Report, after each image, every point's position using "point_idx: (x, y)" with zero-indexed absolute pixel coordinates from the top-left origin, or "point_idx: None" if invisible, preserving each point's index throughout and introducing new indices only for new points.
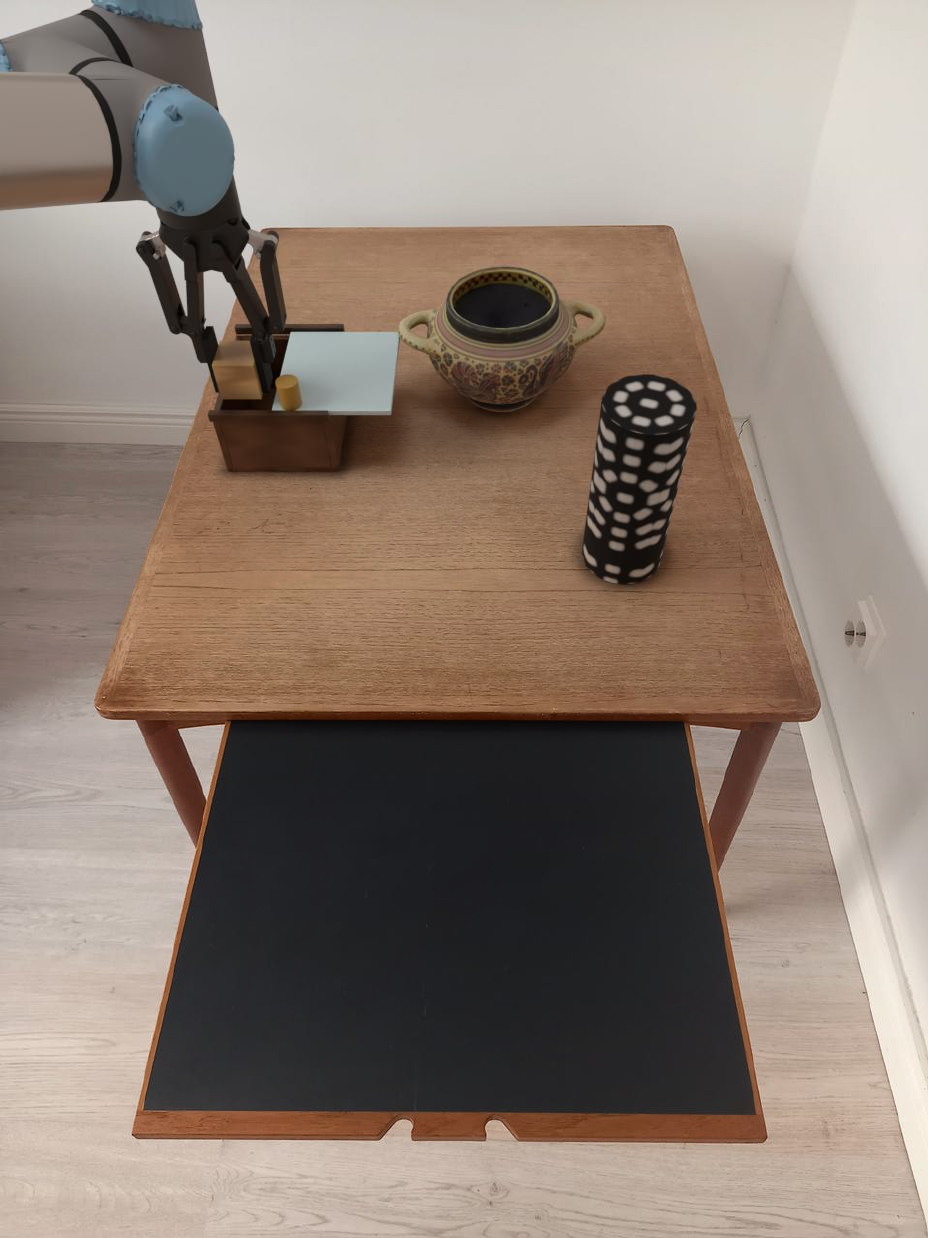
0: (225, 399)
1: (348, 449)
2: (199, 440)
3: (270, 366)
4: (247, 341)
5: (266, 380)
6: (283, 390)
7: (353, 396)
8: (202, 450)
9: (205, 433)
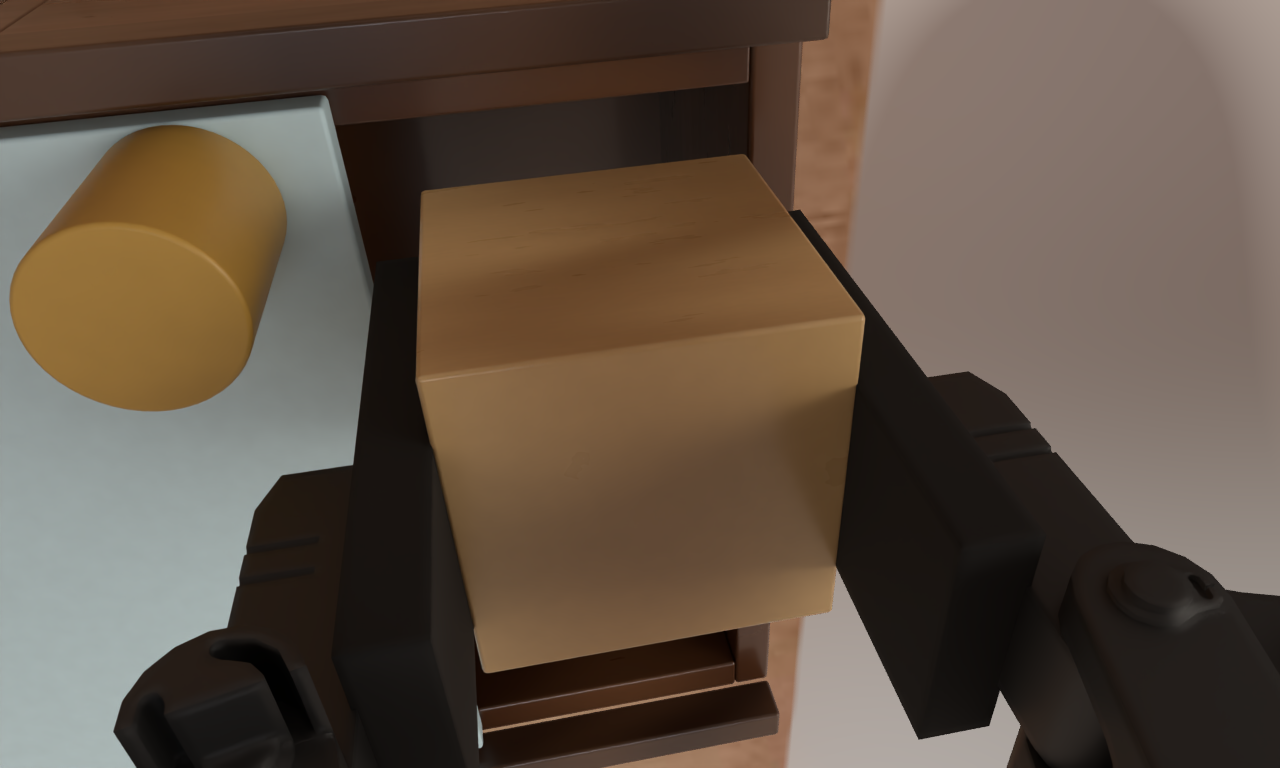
0: None
1: None
2: (859, 148)
3: None
4: (591, 645)
5: (372, 329)
6: (118, 209)
7: None
8: (837, 80)
9: (837, 196)
